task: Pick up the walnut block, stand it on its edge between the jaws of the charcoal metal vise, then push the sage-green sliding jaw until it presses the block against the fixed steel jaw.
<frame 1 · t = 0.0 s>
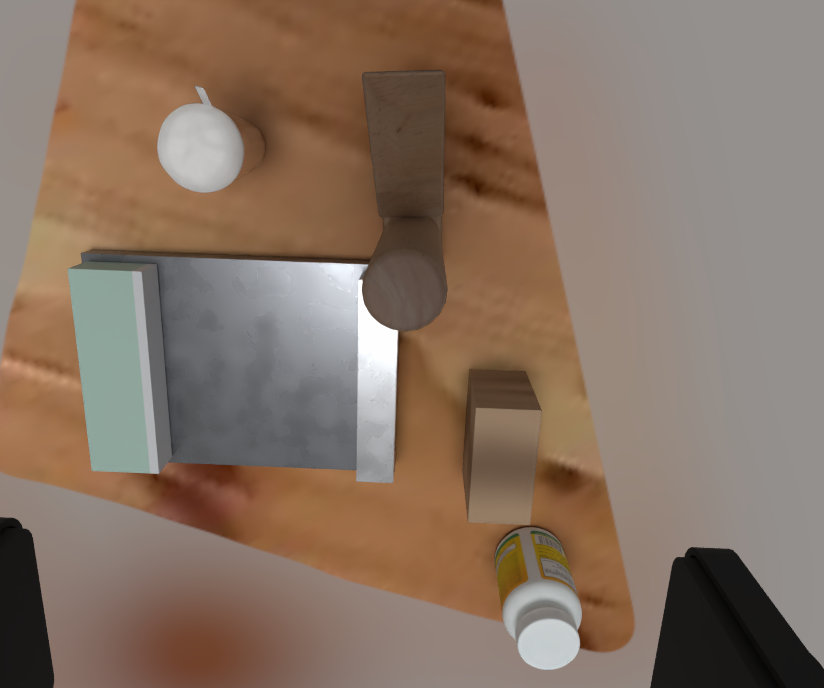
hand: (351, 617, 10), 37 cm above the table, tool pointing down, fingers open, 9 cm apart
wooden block: (412, 177, 44), on the table
vise base: (334, 364, 48), on the table
walnut block: (493, 422, 49), on the table
supplement bottle: (527, 553, 52), on the table
milkshake: (242, 139, 43), on the table
sliding jaw: (123, 369, 45), point 3 cm above the table, slide at 0.0 cm
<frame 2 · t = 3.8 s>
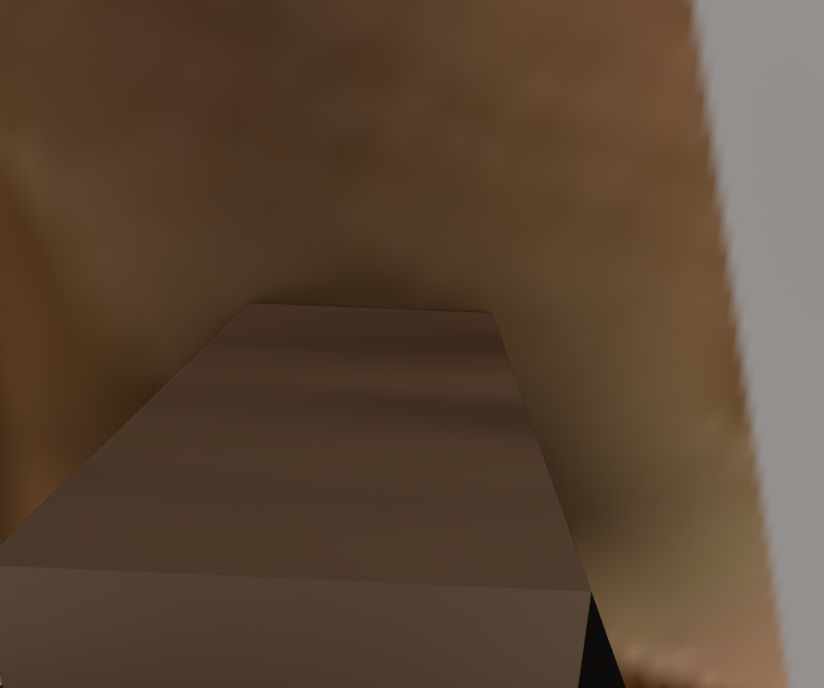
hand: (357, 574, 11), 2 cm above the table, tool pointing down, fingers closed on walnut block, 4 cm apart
walnut block: (366, 520, 12), on the table, touching gripper
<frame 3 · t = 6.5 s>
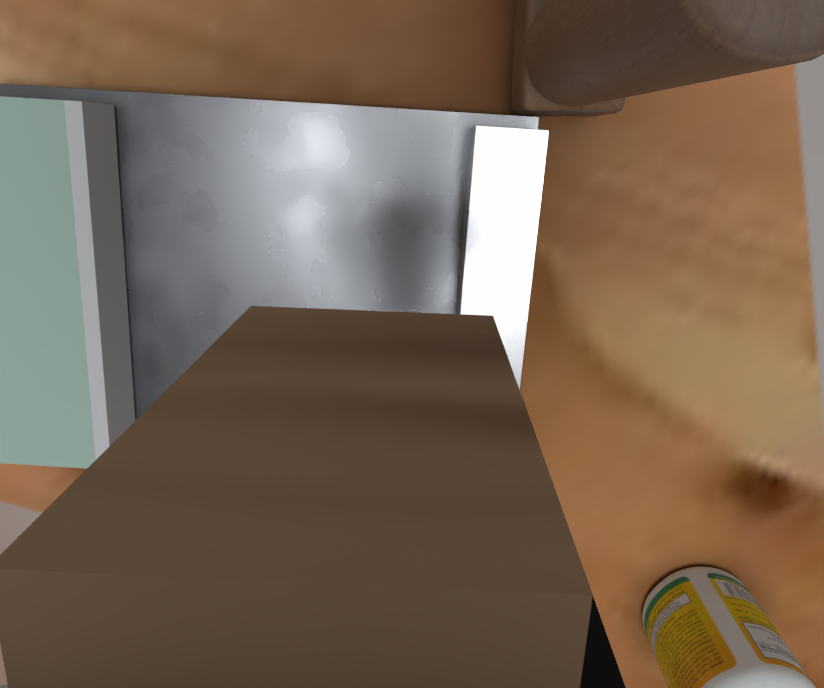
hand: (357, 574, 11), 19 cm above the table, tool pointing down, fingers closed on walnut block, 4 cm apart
vise base: (408, 295, 29), on the table
walnut block: (367, 522, 12), point 17 cm above the table, touching gripper
supplement bottle: (691, 606, 34), on the table
sliding jaw: (53, 289, 26), point 3 cm above the table, slide at 0.0 cm
when the fingers open (5 cm above the table, at t = 9.7 s): walnut block drops 2 cm, resting on vise base.
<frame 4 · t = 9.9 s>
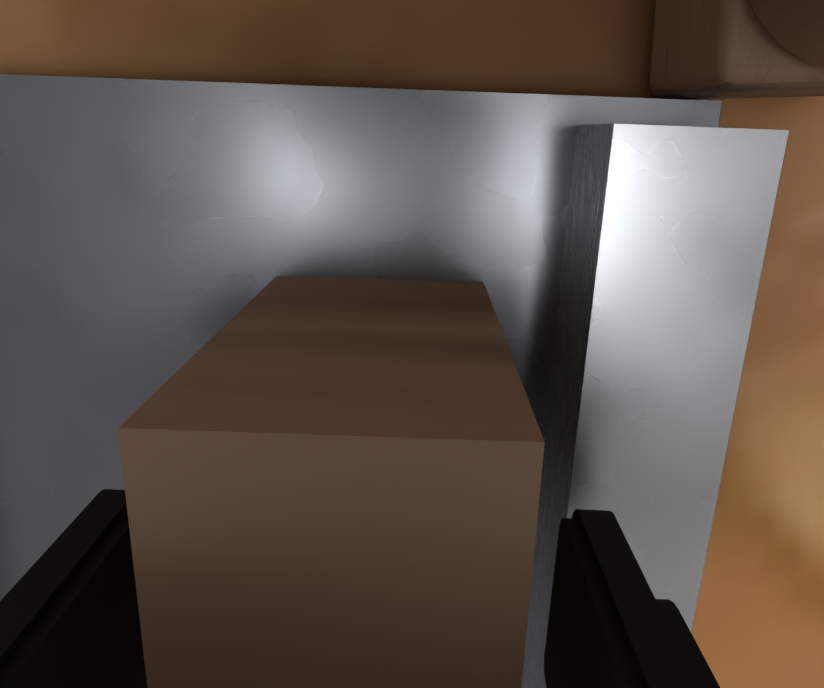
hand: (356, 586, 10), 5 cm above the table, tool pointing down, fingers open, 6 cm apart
vise base: (443, 439, 16), on the table
walnut block: (377, 465, 14), point 1 cm above the table, touching vise base
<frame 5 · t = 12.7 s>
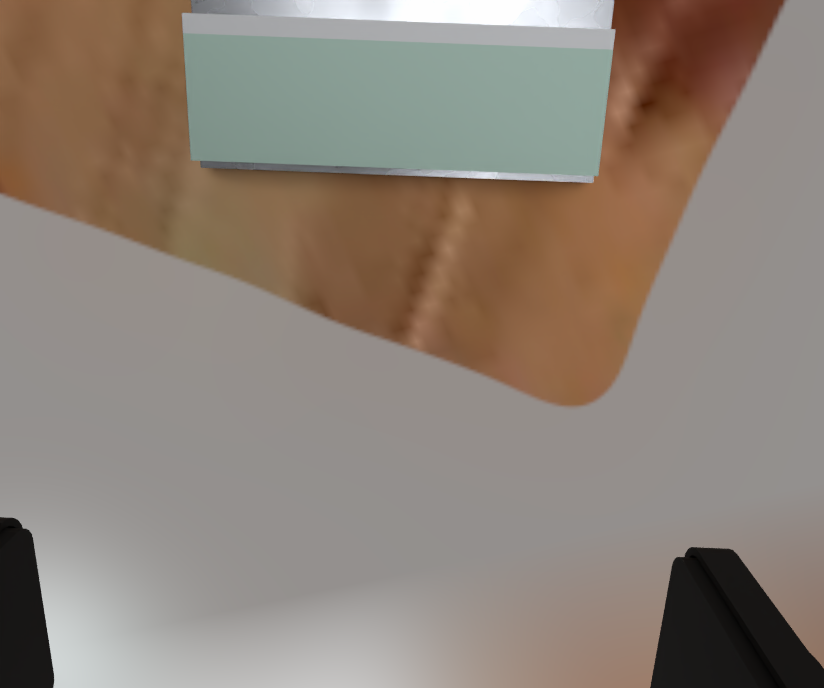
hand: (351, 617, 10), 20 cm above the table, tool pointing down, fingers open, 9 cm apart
sliding jaw: (397, 98, 24), point 3 cm above the table, slide at 0.0 cm
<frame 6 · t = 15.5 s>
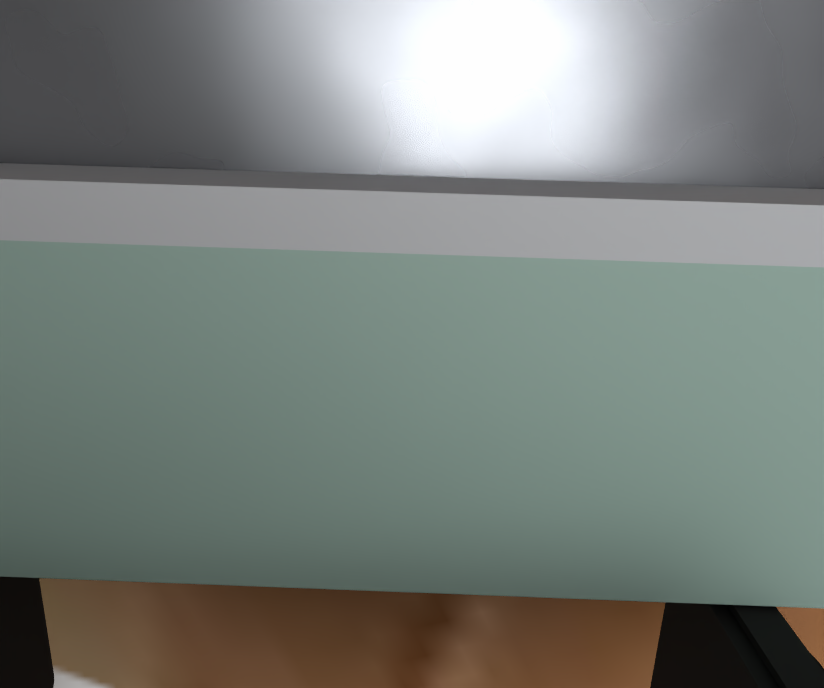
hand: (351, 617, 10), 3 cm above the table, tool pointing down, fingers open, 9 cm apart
sliding jaw: (353, 369, 8), point 3 cm above the table, slide at 0.2 cm, touching gripper
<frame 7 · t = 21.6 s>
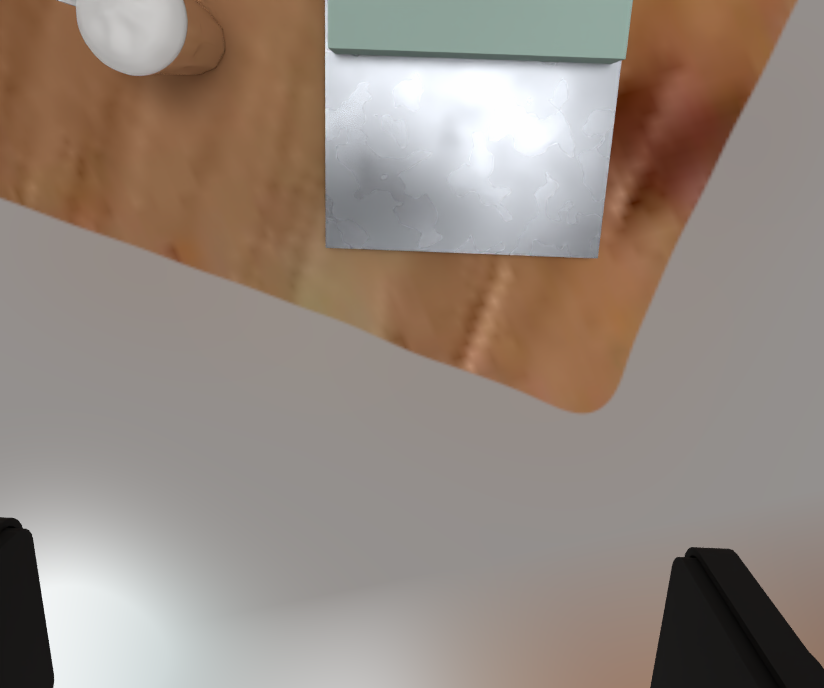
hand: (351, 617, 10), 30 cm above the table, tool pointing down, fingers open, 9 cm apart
milkshake: (188, 39, 36), on the table
sliding jaw: (477, 4, 32), point 3 cm above the table, slide at 9.5 cm
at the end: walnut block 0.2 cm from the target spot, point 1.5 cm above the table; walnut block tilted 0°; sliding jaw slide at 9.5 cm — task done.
